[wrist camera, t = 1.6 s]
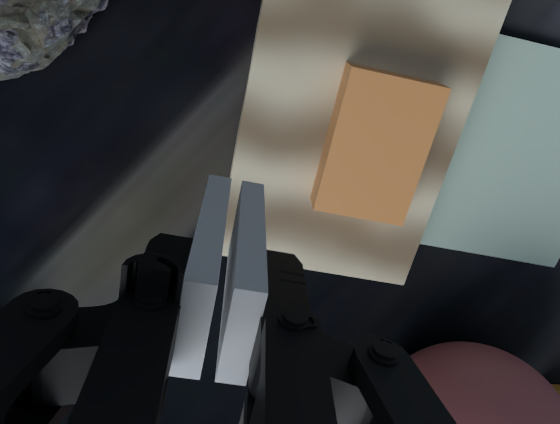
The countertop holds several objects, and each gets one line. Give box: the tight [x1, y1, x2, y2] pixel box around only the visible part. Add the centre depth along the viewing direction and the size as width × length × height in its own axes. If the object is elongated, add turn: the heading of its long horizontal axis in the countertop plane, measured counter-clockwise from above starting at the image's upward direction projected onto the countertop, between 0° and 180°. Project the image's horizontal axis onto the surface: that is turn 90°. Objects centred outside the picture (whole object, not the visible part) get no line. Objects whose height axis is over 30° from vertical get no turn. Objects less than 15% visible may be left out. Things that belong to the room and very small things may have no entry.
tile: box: [310, 62, 451, 226], centre depth 30 cm, size 9×6×2 cm, turn 168°
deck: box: [222, 0, 512, 285], centre depth 33 cm, size 20×14×4 cm
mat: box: [420, 34, 560, 267], centre depth 36 cm, size 16×13×1 cm
